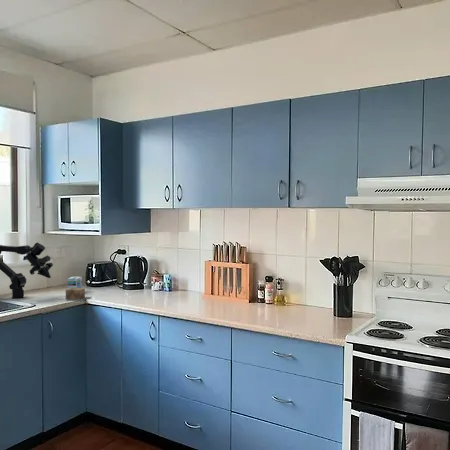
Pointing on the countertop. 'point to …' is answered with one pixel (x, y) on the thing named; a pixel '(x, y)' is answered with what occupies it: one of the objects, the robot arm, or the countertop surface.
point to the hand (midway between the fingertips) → (50, 277)
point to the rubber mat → (78, 299)
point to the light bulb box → (75, 282)
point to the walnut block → (75, 293)
